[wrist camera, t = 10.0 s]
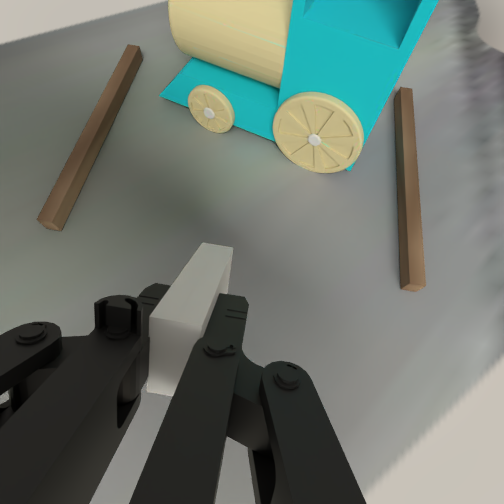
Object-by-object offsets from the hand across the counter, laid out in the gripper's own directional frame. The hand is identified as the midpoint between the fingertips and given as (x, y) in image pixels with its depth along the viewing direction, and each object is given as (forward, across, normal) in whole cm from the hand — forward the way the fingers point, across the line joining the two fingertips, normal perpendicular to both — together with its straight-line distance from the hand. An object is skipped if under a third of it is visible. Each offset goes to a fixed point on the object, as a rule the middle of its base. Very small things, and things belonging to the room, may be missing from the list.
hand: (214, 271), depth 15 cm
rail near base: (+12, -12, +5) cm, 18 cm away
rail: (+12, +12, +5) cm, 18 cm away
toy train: (+16, +1, +8) cm, 17 cm away
